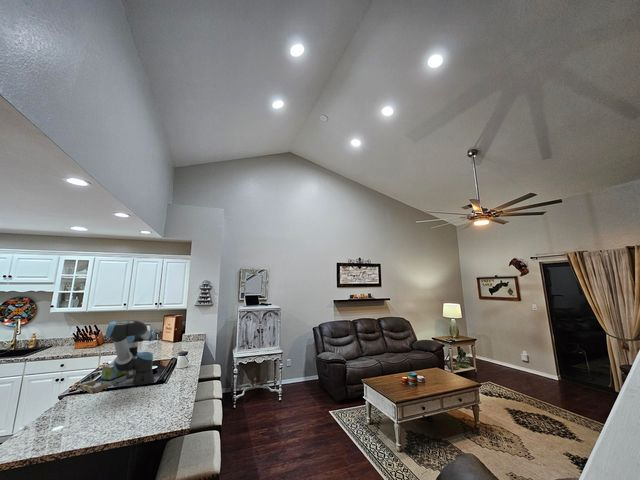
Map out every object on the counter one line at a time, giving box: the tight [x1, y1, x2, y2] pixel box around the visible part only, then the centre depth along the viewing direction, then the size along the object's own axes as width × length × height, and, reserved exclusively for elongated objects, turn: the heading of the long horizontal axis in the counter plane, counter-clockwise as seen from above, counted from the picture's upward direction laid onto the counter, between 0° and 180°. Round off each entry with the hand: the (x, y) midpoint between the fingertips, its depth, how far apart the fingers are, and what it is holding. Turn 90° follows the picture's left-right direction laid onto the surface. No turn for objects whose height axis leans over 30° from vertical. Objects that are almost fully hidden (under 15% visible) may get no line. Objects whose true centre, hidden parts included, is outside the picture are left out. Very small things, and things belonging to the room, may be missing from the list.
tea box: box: [99, 362, 128, 386], centre depth 233 cm, size 15×10×15 cm
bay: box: [79, 380, 109, 394], centre depth 218 cm, size 18×10×4 cm, turn 67°
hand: (130, 374), depth 245 cm, fingers closed
